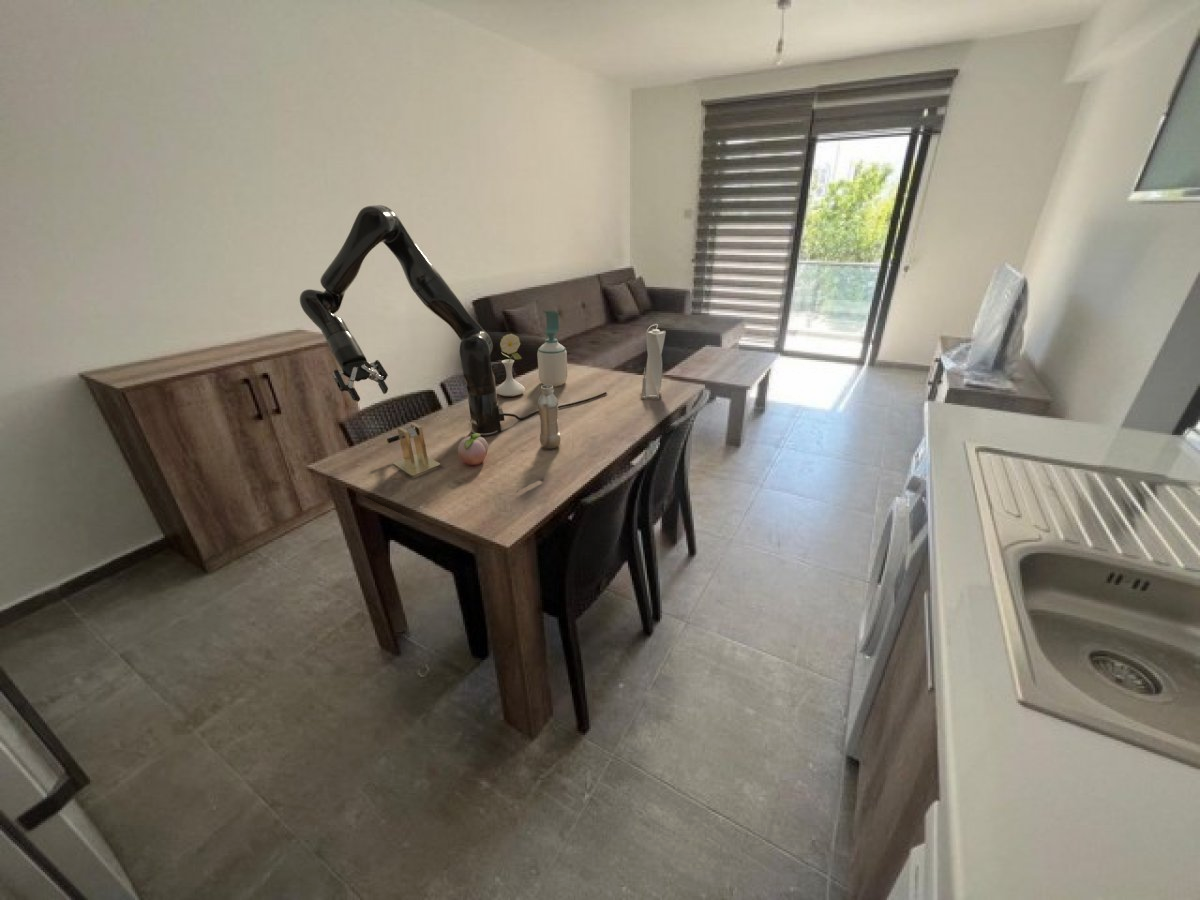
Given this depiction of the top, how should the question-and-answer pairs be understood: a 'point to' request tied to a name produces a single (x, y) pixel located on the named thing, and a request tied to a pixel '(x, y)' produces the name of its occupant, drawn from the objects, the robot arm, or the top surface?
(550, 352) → the soap bottle
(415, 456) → the bracket
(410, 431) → the lever
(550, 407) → the plastic bottle
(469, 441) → the decorative fruit
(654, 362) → the skyscraper
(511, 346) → the flower in vase
